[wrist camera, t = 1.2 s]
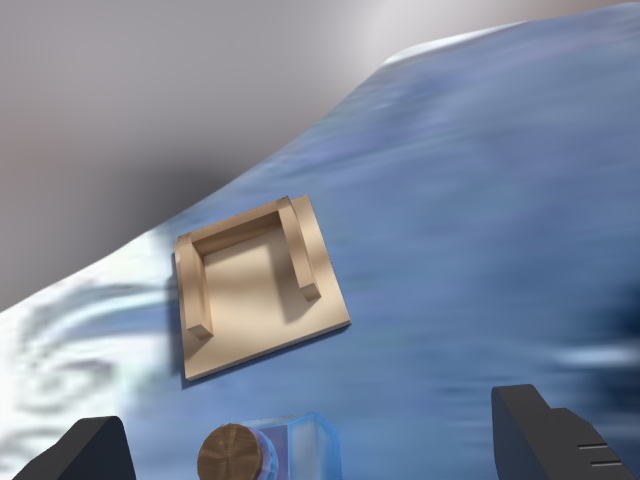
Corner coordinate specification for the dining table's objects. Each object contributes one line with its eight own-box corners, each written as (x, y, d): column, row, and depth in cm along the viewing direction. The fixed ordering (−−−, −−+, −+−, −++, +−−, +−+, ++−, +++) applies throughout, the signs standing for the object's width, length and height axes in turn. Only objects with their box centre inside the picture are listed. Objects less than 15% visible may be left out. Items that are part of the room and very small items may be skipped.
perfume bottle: (254, 543, 30) (159, 542, 20) (255, 442, 34) (175, 400, 24) (347, 535, 29) (292, 529, 19) (338, 432, 33) (288, 384, 23)
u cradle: (178, 248, 46) (161, 229, 43) (309, 199, 45) (300, 177, 42) (190, 381, 38) (170, 368, 35) (351, 323, 37) (343, 306, 34)
